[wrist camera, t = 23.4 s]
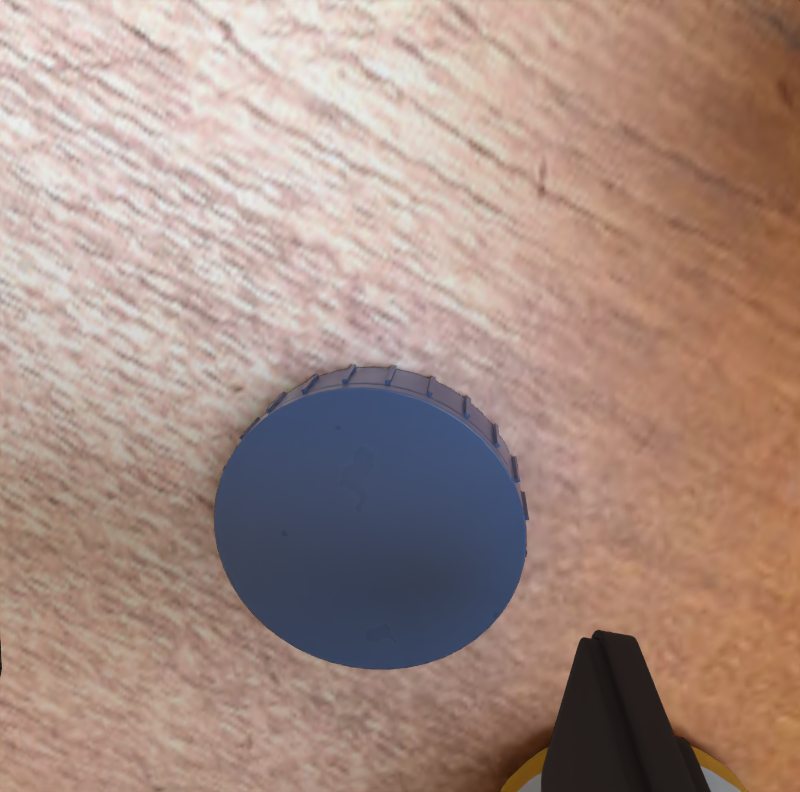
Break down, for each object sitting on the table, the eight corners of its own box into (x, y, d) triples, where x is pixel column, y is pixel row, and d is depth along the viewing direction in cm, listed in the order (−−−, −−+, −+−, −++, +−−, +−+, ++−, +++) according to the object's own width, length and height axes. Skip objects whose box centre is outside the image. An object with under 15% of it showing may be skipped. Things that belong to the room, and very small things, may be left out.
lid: (475, 657, 17) (475, 706, 16) (215, 583, 17) (188, 624, 16) (564, 411, 15) (575, 438, 13) (265, 327, 15) (240, 345, 13)
